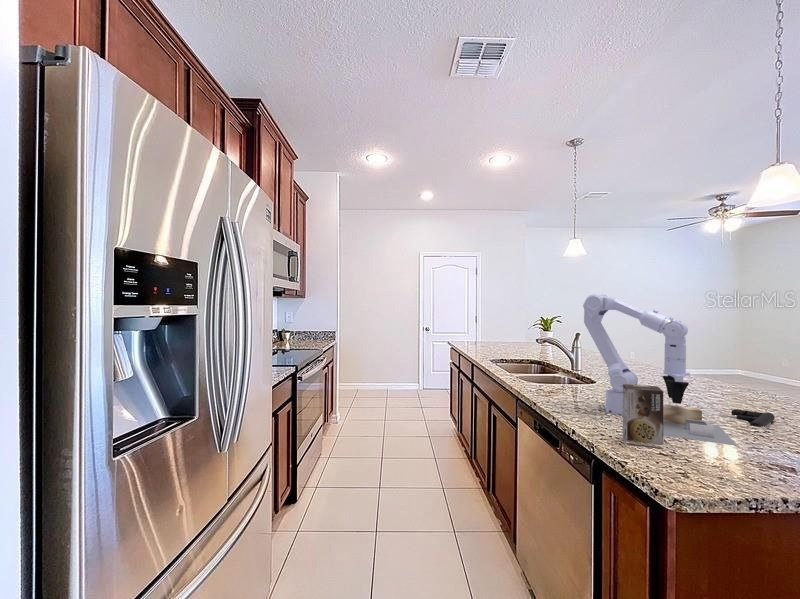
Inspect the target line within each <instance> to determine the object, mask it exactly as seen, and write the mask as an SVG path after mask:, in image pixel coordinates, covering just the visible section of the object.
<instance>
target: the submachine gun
mask: <svg viewBox="0 0 800 599" xmlns="http://www.w3.org/2000/svg"><path fill="white" fill-rule="evenodd" d="M731 414H732V415H728V414H727V415H726V414H718V416H721V417H726V418H731V419H736V420H739V421H745V422H747V423H749V426H751V427H756V428H765V429H767V428H768V427H770V426H771V425H772V422H773V421H775V420H776V419H775V418H778V417H777V416H776V417H775V414H773V413H772V412H759V411H751V410H748V409H747V410H744V409H743V410H742V409H738V408H737V409H736V408H735V409H732V410H731ZM735 415H736V416H735Z"/></svg>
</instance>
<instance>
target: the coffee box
mask: <svg viewBox="0 0 800 599" xmlns="http://www.w3.org/2000/svg"><path fill="white" fill-rule="evenodd" d="M663 405H664V390H662V389H661V388H660V387H659V386H657V385H643V384H642V385H641V384H637V385H628V384H623V415H622V440H623V441H624V443H625V445H626V446H630V445H631V446H632V447H641V448H650V449H660V450H664V447H657V446H651V445H645V444H637V443H633V442H641V443H648V444H649V443H650V444H660V445H664V444H665V443H664V441H665V440H664V433H663ZM628 441H632V443H631V442H628Z"/></svg>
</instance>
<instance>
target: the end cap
mask: <svg viewBox="0 0 800 599" xmlns="http://www.w3.org/2000/svg"><path fill="white" fill-rule="evenodd" d="M712 425H713V424H712ZM712 425H711V422H710V421H709V420H703V419H702V420H694V419H686V418H685V429H687V430H689V434H690V435H698V436H705V437H713V438H714V427H713V426H712Z"/></svg>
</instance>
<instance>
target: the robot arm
mask: <svg viewBox="0 0 800 599" xmlns="http://www.w3.org/2000/svg"><path fill="white" fill-rule="evenodd" d="M582 308H583V323H584V325H585V328H586V329H587V331H588V333H589V335H590V337H591V338H592V340H593V342H594V344H595V346H596V348H597V349H598V352H599V353H600V355H601V357H602V359H603V361H604V362H605V365H606V367H607V375H608V376H609V379H610V380H609V384H610V386H611V387H612V388H611V389H606V390H605V405H604V411H605V413H608V414H615V415H621V416H623V384H628V385H638V382H639V379H638V375H636V374H635V373H634V372H633V371H632V370H631V369H630V368H629V365H627V364H626V363H625V362H624V361H623V359H622V357H621V356H620V354H619V353H618V350H617V349H616V347H615V345H614V343H613V342H612V340H611V338H610V337H609V334H608V332H607V331H606V329H605V327H604V325H603V324H602V320H603V319H604V316H605V314H606V313H607V312H608V311H618V312H620V313H622V314H625V315H627V316H628V317H629V316H630V317H632V318H634V319H637V320H639V322H640V325H641V326H644V327H646V328H648V329H650V330H653V331H654V332H656V333H659V334H663V336H664V339H665V340H664V362H663V363H664V370H663V375H662V376H661V377H662V379H663V380H664V382H665V386H666V391H667V396H668V398H669V399H671V401H672V404H679V405H681V404H682V402H683V398H684V394H685V392H686V390H687V388H688V386H689V385H690V384H689V382H688V381H684V378H685V377H686V376H689V377H690V376H691V373H690V372H687V344H686V342H687V340H686V336H687V334H688V332H689V329H688V328H689V327H688V326H687V325H686V324H685V323H684V322H682V321H681V320H674V317H672V316H669V317H668V316H665V315H663V314H661V313H659V310H656V309H653V310H652V309H647V310H642V309H640V308H637V307H636V306H634V305H631V304H629V303H627V302H625V301H623V300H621V299H619V298H616V297H611V296H608V295H606V294H595V293H594V294H593V293H592V294H590V295H588V296H587V297H586V298H585V300H584V303H583V304H582Z"/></svg>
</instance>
